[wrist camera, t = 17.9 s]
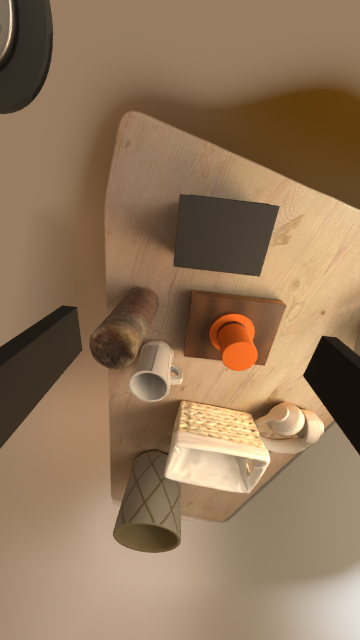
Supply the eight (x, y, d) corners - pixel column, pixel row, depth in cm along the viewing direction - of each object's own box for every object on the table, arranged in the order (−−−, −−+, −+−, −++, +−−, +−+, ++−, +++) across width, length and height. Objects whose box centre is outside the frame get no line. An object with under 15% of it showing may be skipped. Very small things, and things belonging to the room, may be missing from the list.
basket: (167, 429, 67) (161, 481, 54) (177, 394, 60) (173, 443, 47) (238, 442, 68) (250, 496, 55) (256, 408, 61) (274, 461, 48)
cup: (170, 331, 51) (164, 361, 40) (185, 359, 54) (184, 393, 44) (134, 346, 53) (119, 378, 43) (151, 371, 57) (142, 407, 46)
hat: (206, 348, 49) (208, 374, 41) (213, 310, 45) (218, 330, 37) (247, 353, 49) (258, 380, 41) (259, 315, 45) (274, 337, 37)
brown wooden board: (183, 349, 53) (183, 356, 50) (192, 290, 46) (192, 294, 43) (261, 358, 53) (264, 365, 50) (280, 300, 46) (286, 305, 43)
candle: (124, 311, 49) (86, 363, 31) (128, 281, 46) (88, 321, 28) (155, 318, 50) (135, 375, 32) (162, 290, 46) (143, 335, 28)
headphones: (273, 390, 57) (236, 425, 68) (282, 417, 50) (240, 450, 61) (329, 410, 59) (285, 440, 70) (345, 438, 52) (293, 467, 63)
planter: (194, 465, 75) (194, 542, 57) (158, 483, 81) (149, 557, 64) (155, 439, 70) (143, 515, 52) (121, 461, 76) (99, 535, 58)
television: (177, 255, 43) (173, 266, 33) (182, 199, 38) (180, 192, 29) (244, 263, 43) (260, 276, 33) (257, 208, 39) (280, 204, 29)
